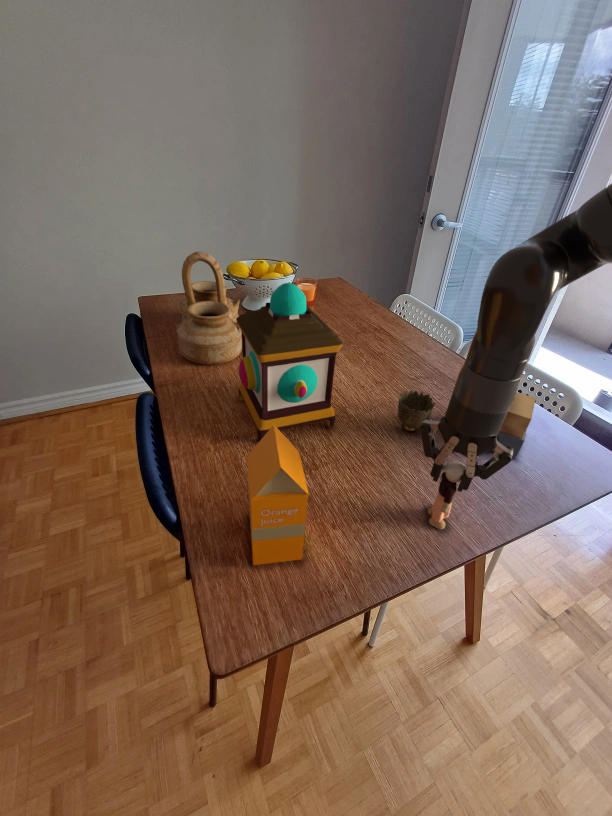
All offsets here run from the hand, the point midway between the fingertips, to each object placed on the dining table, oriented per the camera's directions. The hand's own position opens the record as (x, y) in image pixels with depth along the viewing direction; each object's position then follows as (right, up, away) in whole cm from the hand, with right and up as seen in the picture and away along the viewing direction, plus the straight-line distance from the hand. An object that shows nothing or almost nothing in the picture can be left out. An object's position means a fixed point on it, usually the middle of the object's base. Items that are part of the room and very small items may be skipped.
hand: (448, 482), depth 64 cm
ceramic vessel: (-51, +32, +54) cm, 81 cm away
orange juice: (-28, -9, -1) cm, 29 cm away
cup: (0, +7, +24) cm, 26 cm away
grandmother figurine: (0, -7, +5) cm, 8 cm away
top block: (+19, +10, +21) cm, 30 cm away
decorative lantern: (-28, +11, +27) cm, 40 cm away
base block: (+19, +6, +24) cm, 31 cm away
